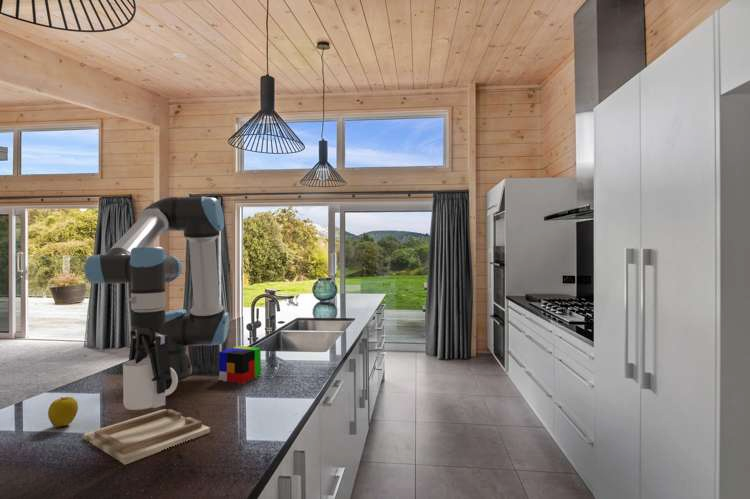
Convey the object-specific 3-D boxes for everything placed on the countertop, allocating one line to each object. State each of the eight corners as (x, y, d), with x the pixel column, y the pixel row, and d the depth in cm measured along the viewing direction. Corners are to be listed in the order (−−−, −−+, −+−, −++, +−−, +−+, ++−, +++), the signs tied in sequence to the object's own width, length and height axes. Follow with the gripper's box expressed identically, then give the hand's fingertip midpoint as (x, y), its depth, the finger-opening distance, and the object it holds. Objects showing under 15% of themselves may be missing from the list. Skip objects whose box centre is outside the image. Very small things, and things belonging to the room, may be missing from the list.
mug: (181, 396, 112) (181, 355, 112) (174, 407, 104) (173, 364, 104) (130, 400, 109) (129, 358, 109) (118, 412, 101) (117, 367, 101)
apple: (55, 433, 110) (54, 401, 110) (43, 427, 113) (43, 396, 113) (83, 424, 115) (82, 393, 115) (71, 419, 118) (71, 389, 118)
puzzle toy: (219, 380, 152) (218, 352, 152) (238, 373, 162) (238, 345, 162) (242, 383, 149) (242, 354, 149) (260, 375, 158) (260, 348, 158)
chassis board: (83, 438, 106) (83, 428, 106) (164, 413, 122) (164, 404, 122) (125, 464, 93) (125, 453, 93) (210, 432, 109) (209, 422, 109)
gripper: (112, 308, 110) (112, 397, 110) (155, 315, 97) (155, 416, 97) (142, 305, 116) (143, 390, 116) (186, 311, 103) (187, 406, 103)
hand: (149, 402), depth 107 cm, fingers closed on mug, 9 cm apart
